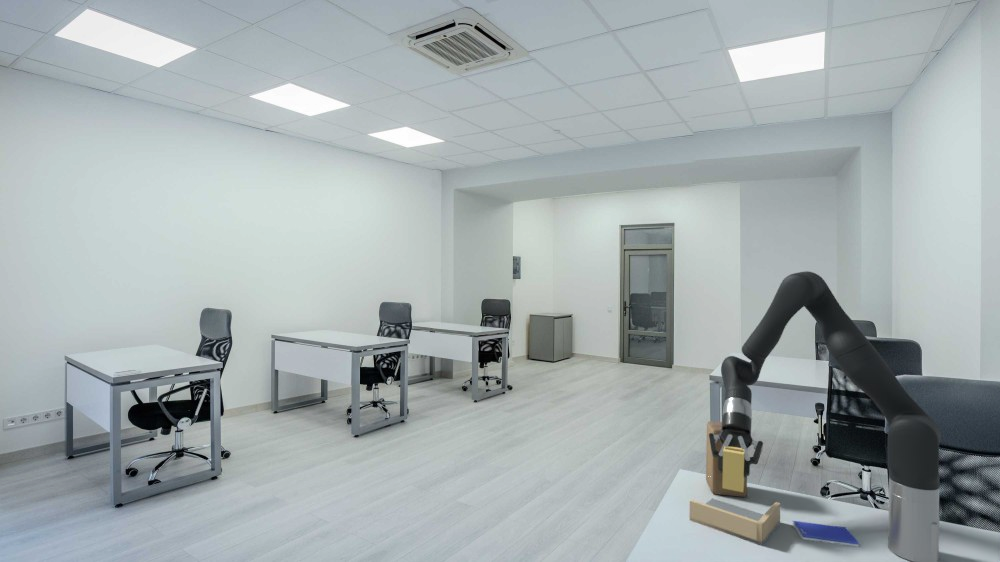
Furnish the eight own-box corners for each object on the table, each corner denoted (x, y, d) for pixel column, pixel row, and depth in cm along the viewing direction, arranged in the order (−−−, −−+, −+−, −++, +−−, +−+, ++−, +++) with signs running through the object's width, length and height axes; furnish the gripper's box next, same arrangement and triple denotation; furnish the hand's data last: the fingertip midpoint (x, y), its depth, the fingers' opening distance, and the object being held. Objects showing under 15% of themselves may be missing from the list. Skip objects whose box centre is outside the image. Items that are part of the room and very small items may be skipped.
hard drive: (802, 535, 124) (859, 542, 121) (792, 519, 132) (845, 526, 129) (802, 541, 124) (858, 549, 121) (792, 525, 132) (844, 532, 129)
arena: (780, 522, 132) (780, 503, 132) (761, 545, 121) (761, 524, 121) (712, 501, 145) (712, 483, 145) (689, 519, 133) (689, 500, 133)
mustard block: (744, 485, 133) (744, 448, 133) (743, 492, 129) (743, 453, 128) (723, 481, 135) (724, 444, 135) (722, 488, 131) (723, 450, 131)
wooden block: (747, 498, 147) (748, 431, 146) (712, 495, 149) (712, 429, 149) (738, 484, 156) (739, 422, 156) (705, 481, 158) (706, 420, 158)
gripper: (709, 407, 142) (703, 462, 131) (765, 414, 135) (763, 473, 124) (710, 420, 146) (705, 474, 136) (765, 428, 139) (763, 486, 129)
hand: (733, 473), depth 130 cm, fingers closed on mustard block, 5 cm apart
